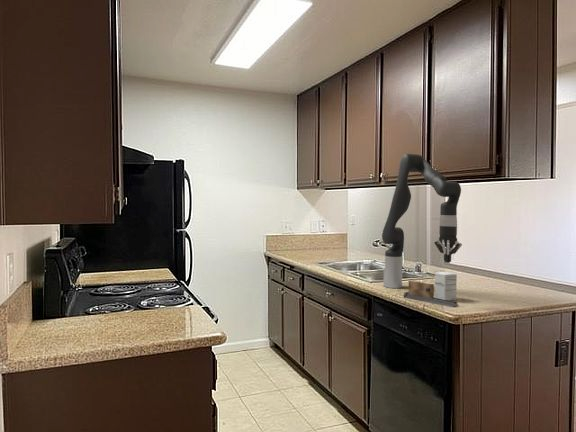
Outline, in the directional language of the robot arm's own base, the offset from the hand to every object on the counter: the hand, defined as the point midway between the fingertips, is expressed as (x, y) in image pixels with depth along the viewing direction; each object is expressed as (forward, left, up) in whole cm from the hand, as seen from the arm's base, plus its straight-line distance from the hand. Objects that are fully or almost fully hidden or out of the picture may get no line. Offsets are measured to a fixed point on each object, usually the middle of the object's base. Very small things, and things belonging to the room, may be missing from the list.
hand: (447, 262), depth 197 cm
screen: (-13, -2, -18) cm, 22 cm away
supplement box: (-6, +9, -19) cm, 22 cm away
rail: (-8, -2, -19) cm, 21 cm away
